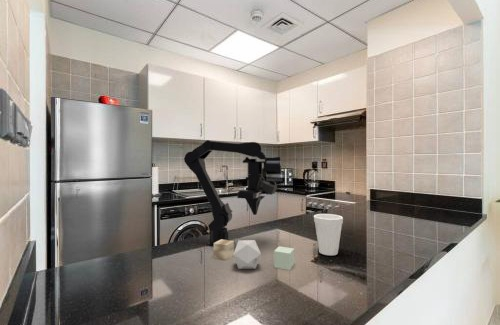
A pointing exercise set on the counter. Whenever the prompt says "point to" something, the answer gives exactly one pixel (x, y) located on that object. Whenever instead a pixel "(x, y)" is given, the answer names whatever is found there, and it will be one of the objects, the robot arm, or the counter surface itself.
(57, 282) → the counter surface
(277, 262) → the sage block
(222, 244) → the birch block
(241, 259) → the die
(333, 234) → the cup
